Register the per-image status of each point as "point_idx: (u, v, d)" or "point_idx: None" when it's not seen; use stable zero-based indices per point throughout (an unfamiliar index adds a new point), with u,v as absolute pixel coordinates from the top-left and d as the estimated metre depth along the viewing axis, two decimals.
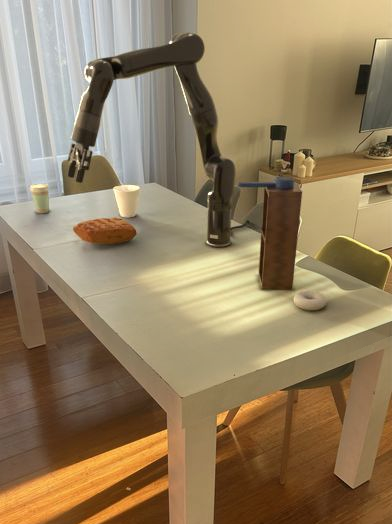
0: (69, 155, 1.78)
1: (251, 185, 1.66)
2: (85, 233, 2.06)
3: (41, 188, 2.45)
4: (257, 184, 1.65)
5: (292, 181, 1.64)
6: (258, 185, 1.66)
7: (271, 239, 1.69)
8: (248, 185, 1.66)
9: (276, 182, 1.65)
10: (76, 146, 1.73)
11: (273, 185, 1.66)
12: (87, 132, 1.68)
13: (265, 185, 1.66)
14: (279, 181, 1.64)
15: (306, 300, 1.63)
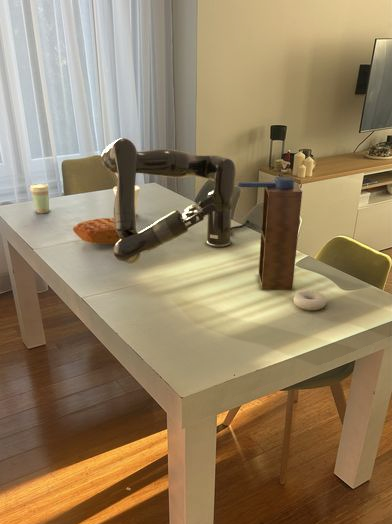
0: None
1: (251, 185, 1.66)
2: (85, 233, 2.06)
3: (41, 188, 2.45)
4: (257, 184, 1.65)
5: (292, 181, 1.64)
6: (258, 185, 1.66)
7: (271, 239, 1.69)
8: (248, 185, 1.66)
9: (276, 182, 1.65)
10: None
11: (273, 185, 1.66)
12: (173, 231, 1.70)
13: (265, 185, 1.66)
14: (279, 181, 1.64)
15: (306, 300, 1.63)
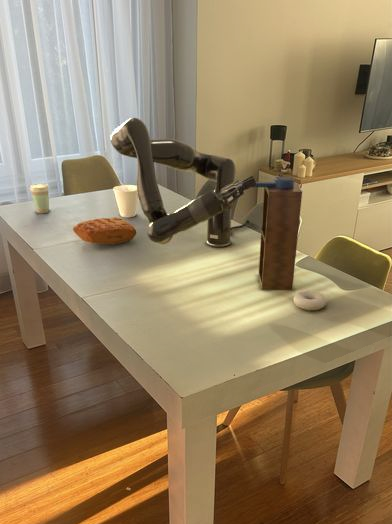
0: None
1: None
2: (85, 233, 2.06)
3: (41, 188, 2.45)
4: (257, 184, 1.65)
5: (292, 181, 1.64)
6: (258, 185, 1.66)
7: (271, 239, 1.69)
8: None
9: (276, 182, 1.65)
10: None
11: (273, 185, 1.66)
12: (209, 211, 1.67)
13: (265, 185, 1.66)
14: (279, 181, 1.64)
15: (306, 300, 1.63)
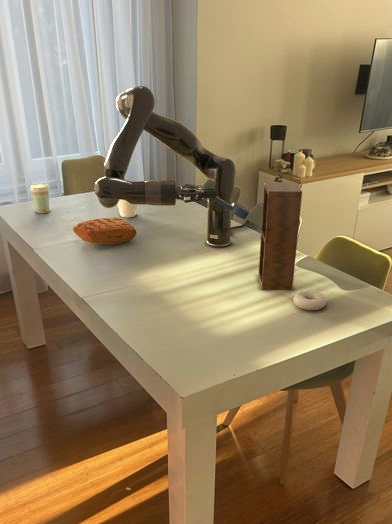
0: None
1: None
2: (85, 233, 2.06)
3: (41, 188, 2.45)
4: (216, 199, 1.68)
5: (247, 213, 1.69)
6: (217, 200, 1.68)
7: (271, 239, 1.69)
8: None
9: (233, 206, 1.68)
10: None
11: (229, 207, 1.69)
12: (162, 198, 1.65)
13: (223, 204, 1.68)
14: (236, 207, 1.68)
15: (306, 300, 1.63)
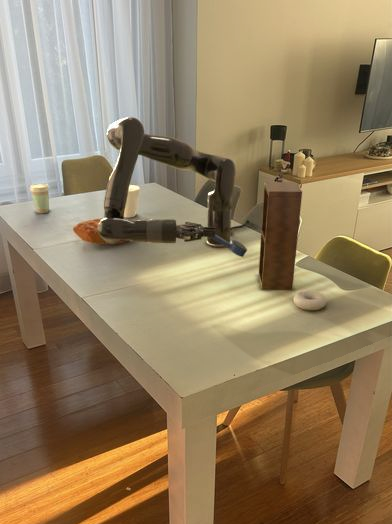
0: None
1: None
2: (85, 233, 2.06)
3: (41, 188, 2.45)
4: (215, 237, 1.74)
5: (245, 251, 1.75)
6: (216, 238, 1.74)
7: (271, 239, 1.69)
8: None
9: (231, 244, 1.75)
10: None
11: (228, 245, 1.75)
12: (163, 237, 1.71)
13: (221, 242, 1.75)
14: (234, 245, 1.74)
15: (306, 300, 1.63)
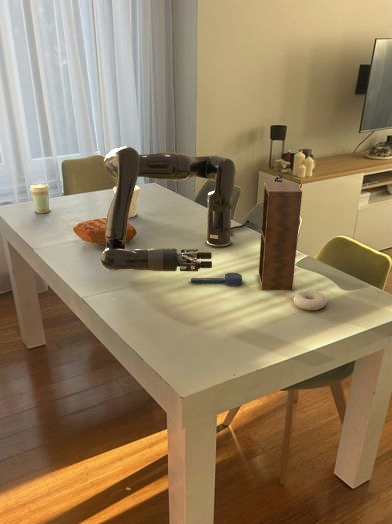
0: None
1: (203, 282, 1.82)
2: (85, 233, 2.06)
3: (41, 188, 2.45)
4: (208, 281, 1.82)
5: (240, 279, 1.80)
6: (209, 282, 1.82)
7: (271, 239, 1.69)
8: (200, 282, 1.82)
9: (225, 279, 1.81)
10: None
11: (223, 282, 1.82)
12: (164, 266, 1.76)
13: (216, 282, 1.82)
14: (228, 279, 1.80)
15: (306, 300, 1.63)
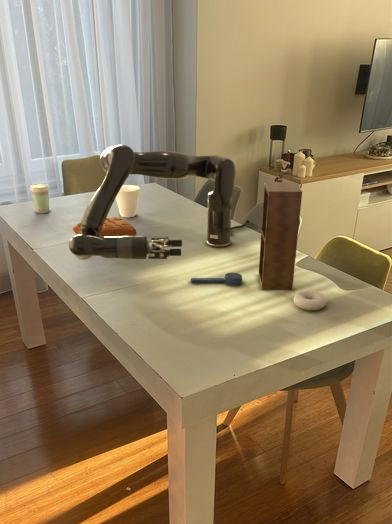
0: None
1: (203, 282, 1.82)
2: None
3: (41, 188, 2.45)
4: (208, 281, 1.82)
5: (240, 279, 1.80)
6: (209, 282, 1.82)
7: (271, 239, 1.69)
8: (200, 282, 1.82)
9: (225, 279, 1.81)
10: None
11: (223, 282, 1.82)
12: (134, 253, 1.74)
13: (216, 282, 1.82)
14: (228, 279, 1.80)
15: (306, 300, 1.63)
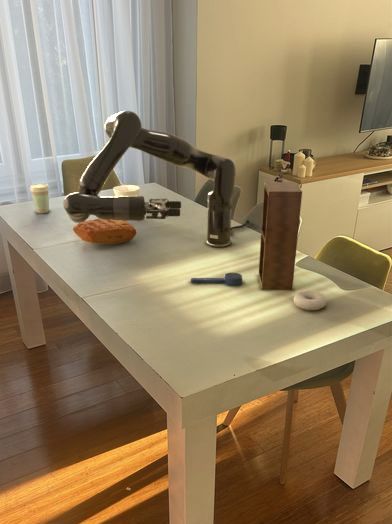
0: None
1: (203, 282, 1.82)
2: (85, 233, 2.06)
3: (41, 188, 2.45)
4: (208, 281, 1.82)
5: (240, 279, 1.80)
6: (209, 282, 1.82)
7: (271, 239, 1.69)
8: (200, 282, 1.82)
9: (225, 279, 1.81)
10: None
11: (223, 282, 1.82)
12: (131, 213, 1.67)
13: (216, 282, 1.82)
14: (228, 279, 1.80)
15: (306, 300, 1.63)
